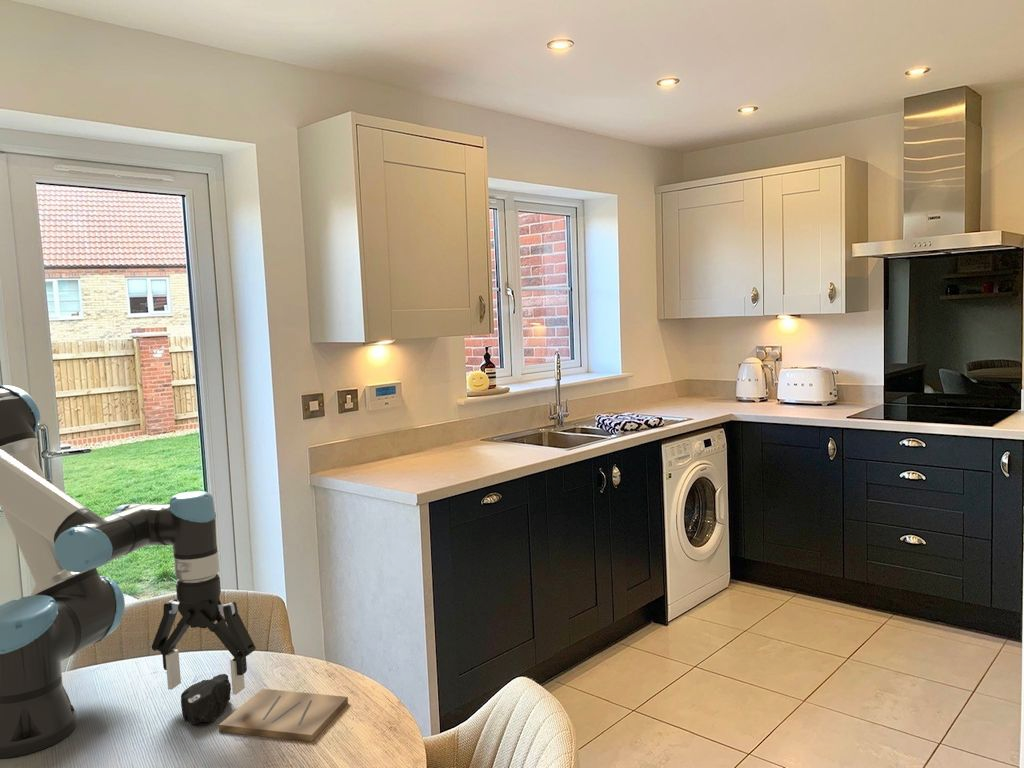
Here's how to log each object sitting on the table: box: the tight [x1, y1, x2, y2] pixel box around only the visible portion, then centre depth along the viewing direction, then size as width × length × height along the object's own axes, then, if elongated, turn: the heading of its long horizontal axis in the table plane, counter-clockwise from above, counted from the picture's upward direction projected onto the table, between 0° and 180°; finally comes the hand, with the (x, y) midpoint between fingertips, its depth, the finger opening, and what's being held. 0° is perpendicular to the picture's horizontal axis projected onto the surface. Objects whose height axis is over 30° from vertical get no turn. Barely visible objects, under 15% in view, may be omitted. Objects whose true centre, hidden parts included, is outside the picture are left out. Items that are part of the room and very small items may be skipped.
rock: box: [180, 673, 232, 726], centre depth 145 cm, size 9×10×6 cm
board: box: [218, 688, 349, 743], centre depth 144 cm, size 18×14×1 cm
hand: (206, 688), depth 146 cm, fingers open, 13 cm apart
